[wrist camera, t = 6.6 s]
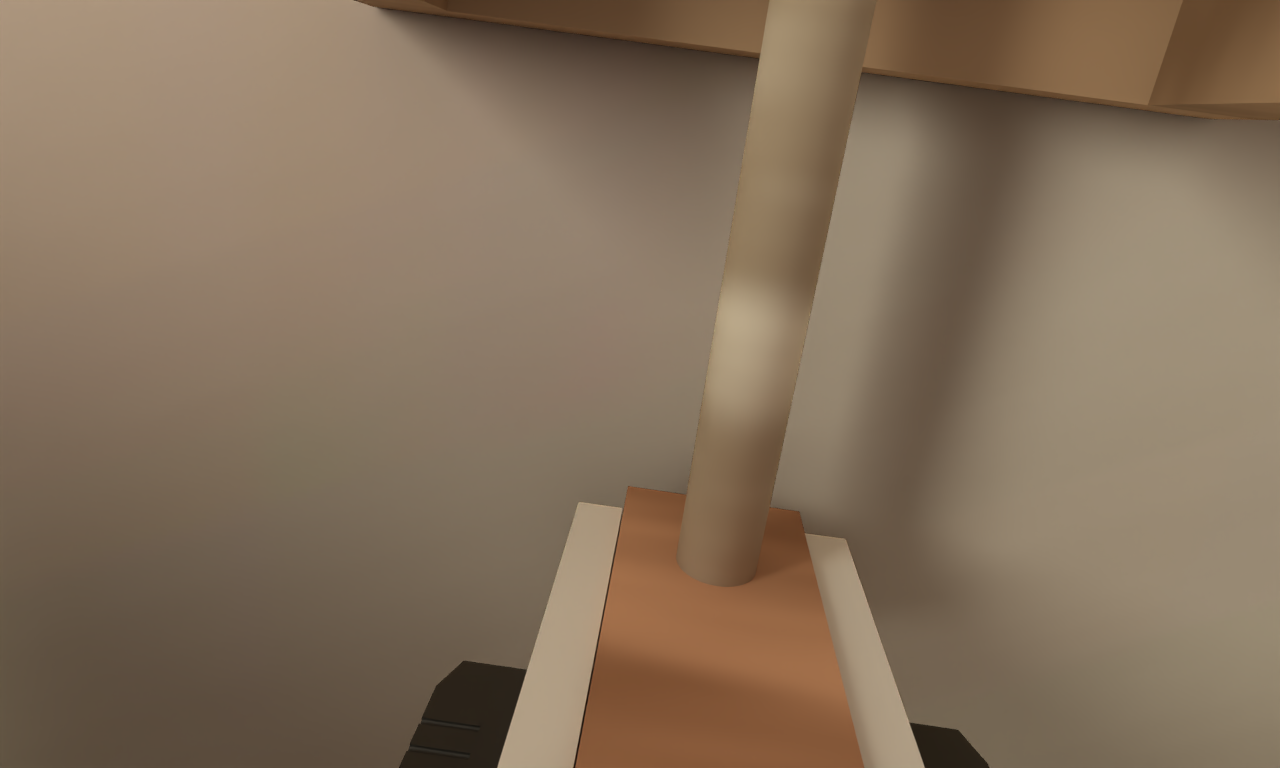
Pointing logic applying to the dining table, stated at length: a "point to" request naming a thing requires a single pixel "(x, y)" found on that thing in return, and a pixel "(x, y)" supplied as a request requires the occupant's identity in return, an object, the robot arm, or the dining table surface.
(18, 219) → the dining table surface
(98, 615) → the dining table surface
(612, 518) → the robot arm
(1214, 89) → the tray
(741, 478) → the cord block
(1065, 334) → the dining table surface
